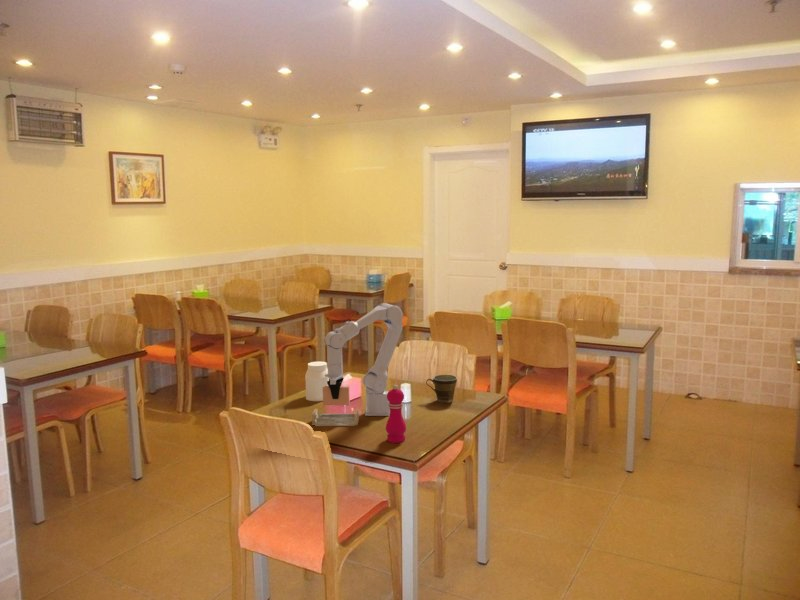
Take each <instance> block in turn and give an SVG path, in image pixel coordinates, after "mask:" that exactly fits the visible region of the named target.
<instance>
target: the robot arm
mask: <svg viewBox="0 0 800 600" xmlns="http://www.w3.org/2000/svg"><path fill="white" fill-rule="evenodd" d="M403 317H404V313H403V311H402V309H401V307H400V306H399V305H394V304H393V305H392V304H389V303H387V302H382V303H380V304H379V305H377V306H375V307H374V308H373V309H372V310H370V311H369V312H368V313H365V314H364V315H363V316H362V317H360V318H359V319H358V320H356V321H353V320H351V321H350V320H347V321H345V322H344V323H345V324H344V325H342V326H341V327H339V328H338V327H337V328H335V329H334V331H329V332H327V334H326V335H325V338H324V339H323V341H324V343H325V345H326V348H327V349H326V354H327V355H326V357H327V358H326V359H327V362H326V363H327V369H328V374H325V377H328V378H329V381H327V384H328V386H329V388H330V390H331V395H332V398H333V399H338V397H339V391H340V386H342V385H343V381H344V379H345V378H344V372H343V371H344V369H343V368H344V367H343V366H344V365H343V364H344V363H343V346H344V345H345V343H346V342H347V341H349V340H350V339H352V338H354V337H355V336H357V335H359V333H360V331H361V329H363V328H365V327H366V326H368V325H371V324H372V323H374V322H376V321H383V322H384V324H385V325H386V327H387V331H386V334H385V335H384V339H383V341H382V344H381V346H380V349H379V352H378V353H377V357H376V359H375V362H374V364H373V366H371V367H370V368H369V369H368V371H367V373H366V374H365V375H364V376H363V378H362V379H363V380H362V383H363V385H364V387H365V400H366V401H365V403H366V406H365V407H366V408H365V412H364V416H365V417H375V416H376V417H384V416H385V417H386V416H390V408H389V407H388V406H389V404H388V403H389V401H388V400H387V393H388V392H389V391H390V390H388V391H387V386H388V378H389V376H388V375H389V374H388V368H389V366H390V363H391V360H392V358H393V356H394V352H395V349H396V347H397V345H398V342H399V339H400V337H401V334H402V332H403V328H404V327H403Z"/></svg>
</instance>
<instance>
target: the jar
mask: <svg viewBox="0 0 800 600" xmlns="http://www.w3.org/2000/svg"><path fill="white" fill-rule="evenodd" d="M325 374H328V363H327V362H326V361H319V360H318V361H311V362H308V363H307V370H306V372H305V376H304V378H305V379H304V380H305V400H306V401H310V402H323V386H328V384H327V381H328V380H329V378H328V377H325Z"/></svg>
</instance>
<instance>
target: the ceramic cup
mask: <svg viewBox="0 0 800 600" xmlns="http://www.w3.org/2000/svg"><path fill="white" fill-rule="evenodd" d="M429 381H431V382H432V383H433V385H434V388H433V386H431V385H430V384H428V382H429ZM425 382H426V385H427V386H428V387H429V388H430V389H432V390H433V391H434V393H435V394H436V400H437V402H438V403H441V404H449V403H453V402H454V397H455V396H454V395H455V390H456V387H457V382H458V377H457V376H456V375H453V374H452V375H451V374H437V375H434V376H433V378H428V379H426V381H425Z"/></svg>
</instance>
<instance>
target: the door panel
mask: <svg viewBox="0 0 800 600" xmlns="http://www.w3.org/2000/svg"><path fill="white" fill-rule="evenodd" d="M350 402H351V401H350V385H341V386H340V391H339V397H338V399H333V398H332V395H331V390H330V388H329V386H323V401H322V405H323V406H350V404H351V403H350Z"/></svg>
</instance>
